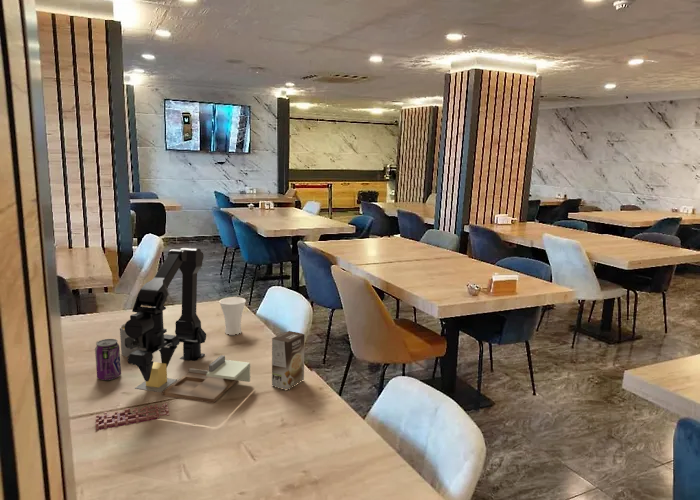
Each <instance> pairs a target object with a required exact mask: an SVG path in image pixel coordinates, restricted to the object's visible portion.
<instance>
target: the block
mask: <svg viewBox="0 0 700 500" xmlns="http://www.w3.org/2000/svg"><path fill="white" fill-rule="evenodd" d="M167 368H168V366H167V367H166V364H165V363H162V362H155V361H153V366H152V370H151V375H150V379H149V381H146V386H151V387H158V388H159V387H160V386H162V385H163V384H164V383H166V382H167V378H168V373H167V372H168V371H167Z"/></svg>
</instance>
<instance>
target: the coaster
mask: <svg viewBox="0 0 700 500" xmlns="http://www.w3.org/2000/svg"><path fill="white" fill-rule="evenodd" d="M177 380H178V378H177V379H176V378H169V377H167V382H166V383H164V384H163V385H162V386H160V387H159V388H158V387H151V386H146V381H145V380H144V381H143V382H141V383H140V384H139V385H137V386H136V387H134V389H137V390H144V391H150V392H157V393H162V392H163V391H164V390H165V389H167V388H168V387H169V386H171V385H172V384H173V383H175V382H176V381H177Z"/></svg>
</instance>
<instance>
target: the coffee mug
mask: <svg viewBox="0 0 700 500" xmlns="http://www.w3.org/2000/svg"><path fill="white" fill-rule="evenodd" d="M125 324H126V322H125V323H122V324H121V325H120V326H119V337H120V338H119V339H120V355H122V356H123V357H125V358H126V357H127V358H128V356H129V355H130V354H131V353H133V352H134V351H136V350H142V351H145V350H146V348H144V349H141V348H140V346H139V347H135V348H133V349H130V348H126V346H125V338H127V337H129V336H128V335H127V334H126V332H125V329H124V326H125Z"/></svg>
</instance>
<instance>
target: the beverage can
mask: <svg viewBox="0 0 700 500" xmlns="http://www.w3.org/2000/svg"><path fill="white" fill-rule="evenodd" d="M95 344H96V345H95V349H94V352H95V353H94V355H95V367H96V378H97V379H98V380H102V381H111V380H115V379H117V378H119V377H120V376H121V375H122V367H121V364H122V363H121V347H120V344H119V343H118V340H117V339H116V338H103V339H101V340H98V341H96V342H95Z"/></svg>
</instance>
